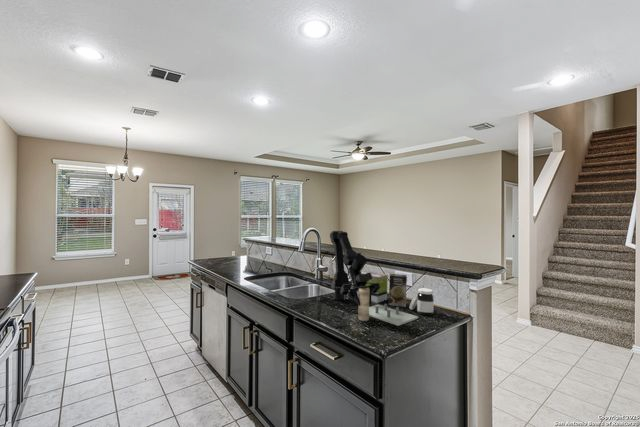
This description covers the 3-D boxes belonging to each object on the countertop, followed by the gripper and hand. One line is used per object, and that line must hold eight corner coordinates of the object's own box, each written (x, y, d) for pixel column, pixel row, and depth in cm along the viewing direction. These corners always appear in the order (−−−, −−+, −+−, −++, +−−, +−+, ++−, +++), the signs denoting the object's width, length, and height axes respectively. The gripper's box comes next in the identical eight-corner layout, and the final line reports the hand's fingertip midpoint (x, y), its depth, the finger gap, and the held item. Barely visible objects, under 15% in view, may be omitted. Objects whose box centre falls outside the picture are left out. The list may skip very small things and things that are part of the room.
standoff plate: (357, 311, 153) (357, 304, 153) (378, 305, 164) (378, 298, 164) (398, 325, 135) (398, 317, 135) (418, 318, 146) (418, 310, 146)
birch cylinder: (358, 316, 146) (359, 287, 146) (369, 317, 145) (369, 288, 145) (357, 320, 141) (358, 290, 141) (368, 321, 140) (369, 290, 140)
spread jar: (434, 317, 148) (435, 292, 148) (410, 314, 150) (410, 291, 150) (430, 309, 160) (431, 287, 160) (408, 307, 162) (408, 285, 162)
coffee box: (388, 305, 165) (389, 275, 165) (388, 302, 171) (389, 273, 171) (406, 307, 163) (406, 276, 163) (405, 303, 169) (406, 274, 169)
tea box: (355, 297, 179) (356, 272, 179) (366, 294, 186) (366, 270, 186) (377, 303, 169) (378, 276, 169) (387, 300, 176) (388, 274, 176)
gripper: (342, 267, 144) (351, 297, 133) (379, 266, 149) (389, 294, 138) (337, 280, 151) (344, 309, 141) (371, 278, 157) (381, 306, 146)
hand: (365, 304), depth 141 cm, fingers closed on birch cylinder, 5 cm apart
